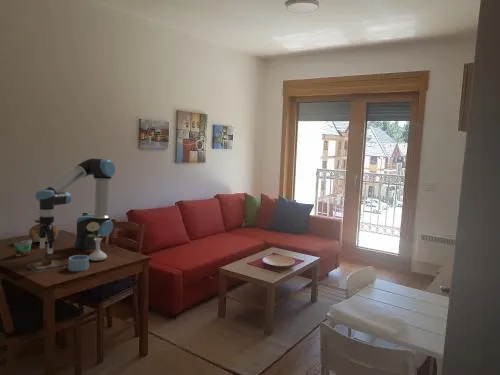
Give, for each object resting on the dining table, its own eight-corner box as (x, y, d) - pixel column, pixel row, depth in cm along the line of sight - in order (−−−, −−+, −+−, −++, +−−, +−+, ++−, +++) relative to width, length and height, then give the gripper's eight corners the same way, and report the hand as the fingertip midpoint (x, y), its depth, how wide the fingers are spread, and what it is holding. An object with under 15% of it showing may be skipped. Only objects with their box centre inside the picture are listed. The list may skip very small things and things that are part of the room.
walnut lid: (55, 261, 236) (55, 246, 235) (63, 266, 226) (63, 251, 225) (30, 265, 226) (30, 250, 225) (37, 271, 216) (37, 255, 215)
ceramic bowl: (84, 264, 233) (84, 254, 232) (91, 269, 225) (91, 258, 225) (65, 268, 225) (65, 257, 224) (72, 273, 217) (72, 261, 217)
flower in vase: (108, 257, 252) (109, 220, 249) (105, 262, 241) (105, 223, 238) (88, 256, 249) (88, 220, 247) (83, 262, 238) (83, 223, 236)
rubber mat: (56, 260, 238) (56, 260, 238) (66, 267, 226) (66, 266, 226) (26, 265, 226) (26, 265, 226) (35, 273, 214) (35, 272, 214)
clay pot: (20, 238, 274) (30, 212, 279) (43, 243, 289) (52, 218, 294) (36, 242, 265) (46, 215, 269) (58, 247, 280) (68, 222, 285)
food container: (22, 258, 239) (22, 243, 238) (14, 257, 240) (13, 242, 239) (36, 253, 251) (36, 238, 250) (28, 252, 252) (28, 238, 251)
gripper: (33, 213, 229) (32, 247, 231) (47, 220, 212) (46, 256, 214) (46, 212, 234) (45, 245, 236) (61, 218, 217) (60, 254, 219)
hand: (46, 251), depth 225 cm, fingers open, 13 cm apart
